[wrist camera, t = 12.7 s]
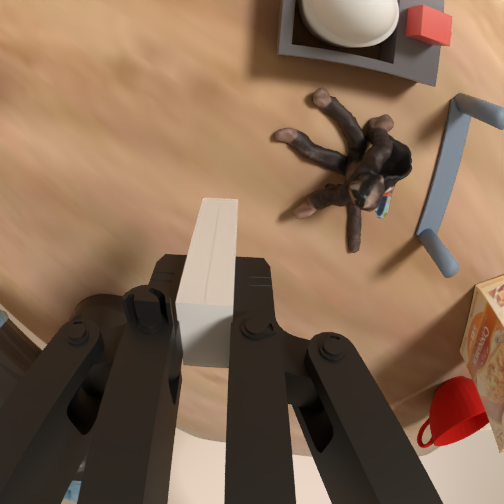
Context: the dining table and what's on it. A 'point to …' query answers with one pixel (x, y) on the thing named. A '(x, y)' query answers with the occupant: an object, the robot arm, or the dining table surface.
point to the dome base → (386, 42)
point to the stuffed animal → (353, 165)
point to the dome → (350, 21)
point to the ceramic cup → (454, 413)
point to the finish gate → (451, 173)
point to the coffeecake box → (487, 350)
